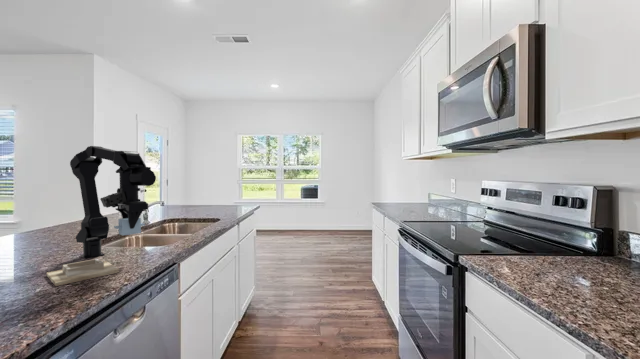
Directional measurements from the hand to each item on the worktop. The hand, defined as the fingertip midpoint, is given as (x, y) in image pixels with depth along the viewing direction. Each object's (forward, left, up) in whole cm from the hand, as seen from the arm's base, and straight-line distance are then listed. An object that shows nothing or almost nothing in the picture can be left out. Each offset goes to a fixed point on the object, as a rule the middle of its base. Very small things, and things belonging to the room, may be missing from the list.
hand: (129, 227), depth 111 cm
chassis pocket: (+4, -15, -12) cm, 20 cm away
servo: (0, 0, -2) cm, 2 cm away
